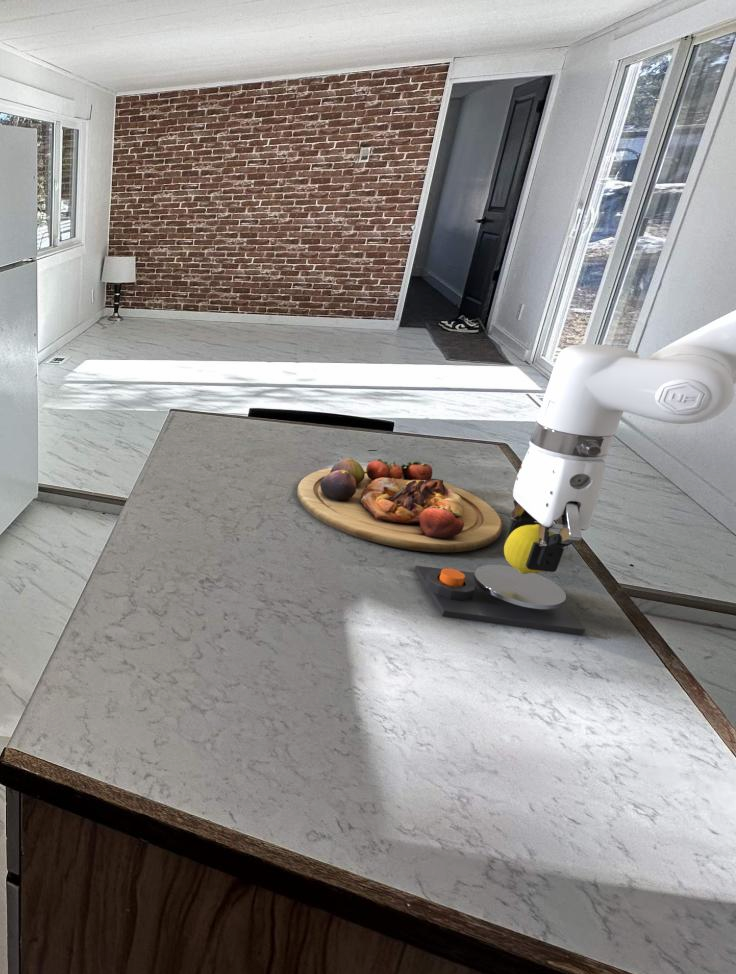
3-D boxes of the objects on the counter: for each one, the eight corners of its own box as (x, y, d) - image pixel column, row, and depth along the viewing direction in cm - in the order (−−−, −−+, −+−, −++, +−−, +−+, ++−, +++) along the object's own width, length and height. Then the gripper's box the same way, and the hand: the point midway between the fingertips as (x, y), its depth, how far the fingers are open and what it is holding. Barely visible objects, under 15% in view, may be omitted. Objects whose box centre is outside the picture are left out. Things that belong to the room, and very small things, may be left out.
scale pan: (542, 574, 95) (544, 569, 95) (580, 614, 86) (582, 609, 86) (462, 565, 98) (463, 560, 98) (490, 603, 90) (492, 598, 89)
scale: (536, 590, 97) (543, 571, 96) (580, 641, 87) (589, 619, 85) (410, 575, 102) (415, 556, 101) (437, 620, 92) (443, 600, 91)
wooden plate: (536, 568, 102) (553, 523, 99) (312, 542, 112) (321, 501, 109) (458, 483, 130) (468, 446, 127) (284, 469, 140) (290, 434, 137)
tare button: (458, 578, 96) (461, 569, 95) (465, 589, 93) (468, 580, 93) (436, 575, 97) (438, 567, 96) (443, 586, 94) (445, 577, 94)
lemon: (553, 575, 91) (572, 526, 88) (540, 589, 88) (559, 539, 85) (505, 558, 95) (521, 511, 92) (491, 571, 92) (507, 523, 89)
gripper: (650, 468, 75) (597, 596, 82) (569, 419, 90) (531, 531, 97) (570, 463, 77) (525, 587, 84) (504, 416, 92) (471, 525, 99)
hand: (528, 556), depth 90 cm, fingers closed on lemon, 5 cm apart
